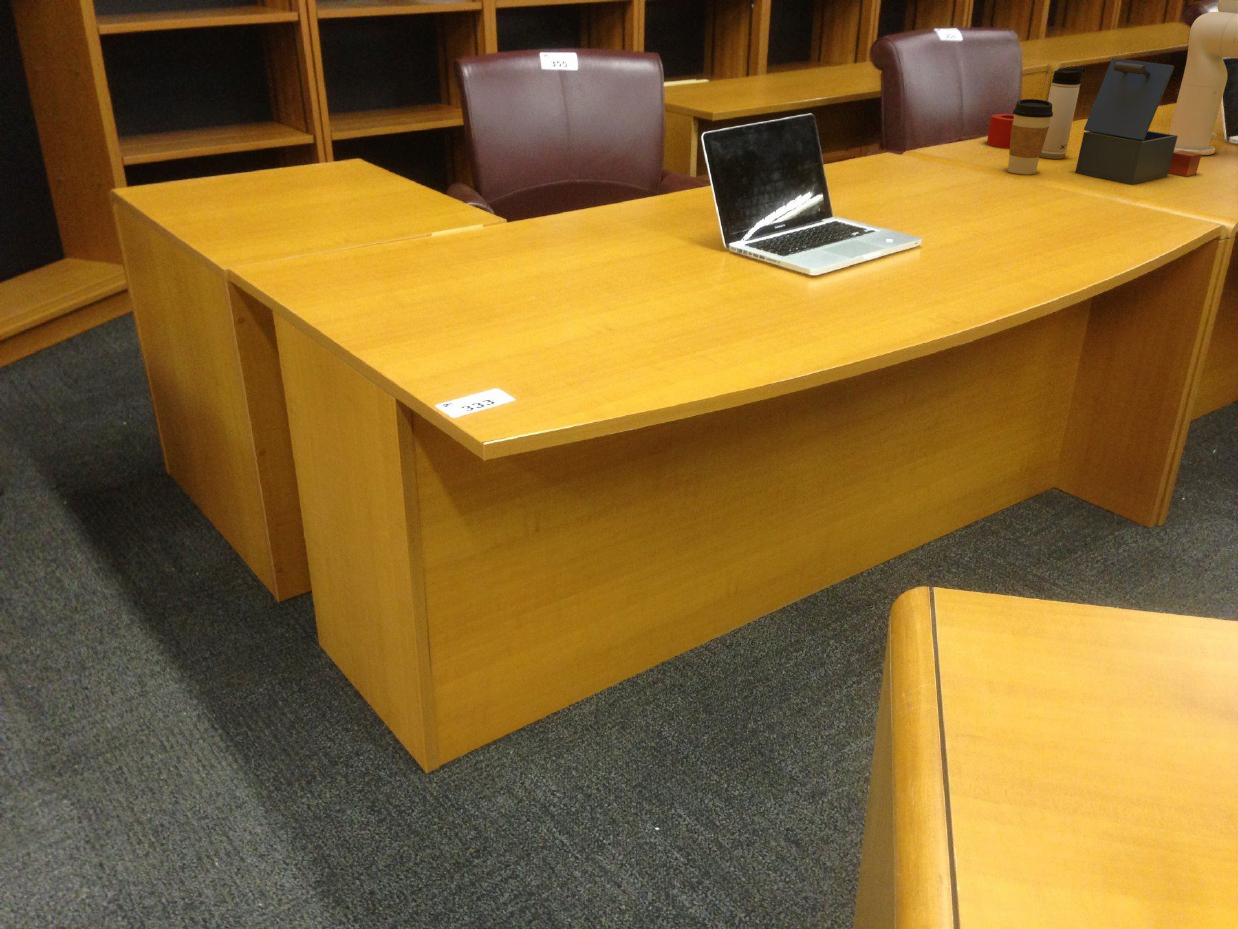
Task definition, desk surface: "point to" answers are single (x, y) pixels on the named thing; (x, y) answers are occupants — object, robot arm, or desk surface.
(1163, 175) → the dark grey hollow box
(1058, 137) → the travel mug
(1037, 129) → the coffee cup
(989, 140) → the lever
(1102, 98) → the lid
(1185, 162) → the block
